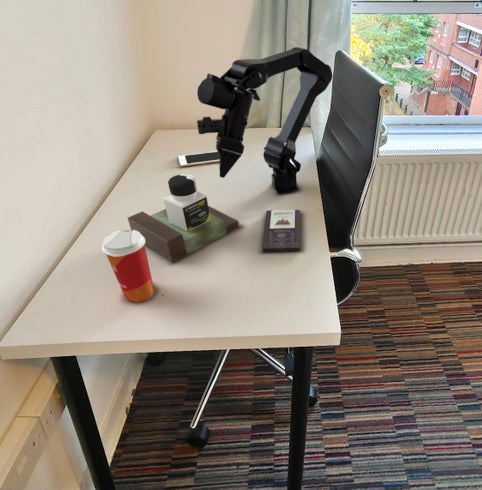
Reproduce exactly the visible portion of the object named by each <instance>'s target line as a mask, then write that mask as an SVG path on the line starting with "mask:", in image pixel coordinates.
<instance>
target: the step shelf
mask: <svg viewBox="0 0 482 490" xmlns="http://www.w3.org/2000/svg"><path fill="white" fill-rule="evenodd" d="M208 207H209V213H210V221H208V222H206V223H204V224H202V225H200V226H198V227H197V228H195V229H193V230H191V231H189V232H187V231H185V230H183V229H181V228H179V227H177V226H175V225H173V224H171V223H170V222H169V219H168V215H167V211H166V208H164V209H161V210H159V211H157V212H155V213H153V214H148V213H147V212H145V211H140V212H138V213H137V212H136V213H135V214H133V215H130V216H128V217H127V221H128V225H129V228H130V230H131V231H133V230H136V231H138V232H139V233H140V234H141V235H142V236H143V237H144V238H145V244H144V245H145V247H146V248H148V249H150V250H151V251H153V252H154V253H156V254H157V255H159V256H161V257H162V258H164V259H166V260H167V261H169V262H170V263H172V264H173V263H175V262H178V261H179V260H181V259H183V258H184V257H186V256H189V255H190V254H192V253H194V252H195V251H198V250H199V249H201V248H203V247H205V246H207V245H208V244H211V243H213V242H214V241H216V240H218V239H220V238H222V237H224V236H225V235H227V234H229V233H231V232H232V231H234V230H236V229H239V228H240V224H239V220H238V219H236V218H234V217H231V216H229V215H227V214H226V213H224V212H222V211H220V210H219V209H218V210H217V209H216V208H214V207H212V206H209V205H208Z"/></svg>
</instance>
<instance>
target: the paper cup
mask: <svg viewBox="0 0 482 490" xmlns="http://www.w3.org/2000/svg"><path fill="white" fill-rule="evenodd" d="M144 244H145V238H144V237H143V236H142V235H141V234H140V233H139V232H138V231H136V230H133V231H131V229H124V230H123V229H120V230H117V231H114V232H111V233H109V234H108V235H106V237H105V238H103V241H102V245H101V250H102V252H103V253H104V254H105V255H106V258H107V260H108V262H109V264H110V267H111V269H112V271H113V273H114V275H115V278H116V280H117V282H118V284H119V287H120V290H121V292H122V293H123V296H124V298H125V299H126V300H127V301H128V302H131V303H140V302H144V301H147V300H148V299H149V298H151V297H152V296H153V295H154V291H155V287H154V283H153V278H152V274H151V273H152V272H151V269H150V268H151V267H150V263H149V258H148V255H147V250H146V246H145V245H144Z"/></svg>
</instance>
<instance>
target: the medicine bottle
mask: <svg viewBox="0 0 482 490" xmlns="http://www.w3.org/2000/svg"><path fill="white" fill-rule="evenodd" d="M167 185H168V189H169V193H170V194H169V195H167V196H165V197H163V202H164V206H165V209H166V211H167V215H168V219H169V222H170V223H171V224H173V225H175V226H177V227H179V228H181V229H183V230H185V231H187V232H189V231H191V230H193V229H195V228H197V227H198V226H200V225H202V224H204V223H206V222H208V221H210V213H209V207H208V206H209V202H208V198H207V197H208V196H207V195H206V194H204V193H203V192H199V191H198V187H197V182H196V178H195V176H193V175H192V174H186V173H179V174H175V175H173V176H172V177H170V178H169V179H168V180H167Z"/></svg>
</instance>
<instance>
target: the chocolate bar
mask: <svg viewBox="0 0 482 490" xmlns="http://www.w3.org/2000/svg"><path fill="white" fill-rule="evenodd" d="M261 251H262V253H273V252H275V253H276V252H277V253H278V252H300V251H301V210H300V209H274V210H272V209H271V210H266V212H265V222H264V230H263V238H262V247H261Z"/></svg>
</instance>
